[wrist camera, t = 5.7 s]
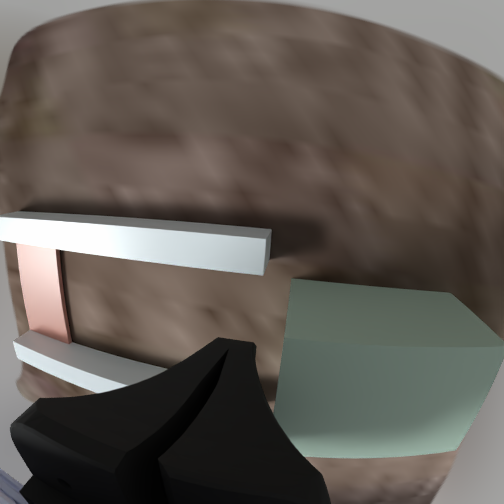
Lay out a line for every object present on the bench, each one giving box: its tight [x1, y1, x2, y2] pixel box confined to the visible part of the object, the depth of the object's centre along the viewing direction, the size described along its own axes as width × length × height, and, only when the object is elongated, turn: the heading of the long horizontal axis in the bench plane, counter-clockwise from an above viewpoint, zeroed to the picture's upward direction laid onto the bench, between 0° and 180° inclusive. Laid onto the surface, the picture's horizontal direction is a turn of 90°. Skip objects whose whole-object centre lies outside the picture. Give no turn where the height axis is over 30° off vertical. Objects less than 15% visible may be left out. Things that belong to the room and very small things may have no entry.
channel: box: [0, 211, 272, 393], centre depth 13 cm, size 8×14×2 cm, turn 86°
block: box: [273, 278, 504, 458], centre depth 10 cm, size 4×7×5 cm, turn 86°
